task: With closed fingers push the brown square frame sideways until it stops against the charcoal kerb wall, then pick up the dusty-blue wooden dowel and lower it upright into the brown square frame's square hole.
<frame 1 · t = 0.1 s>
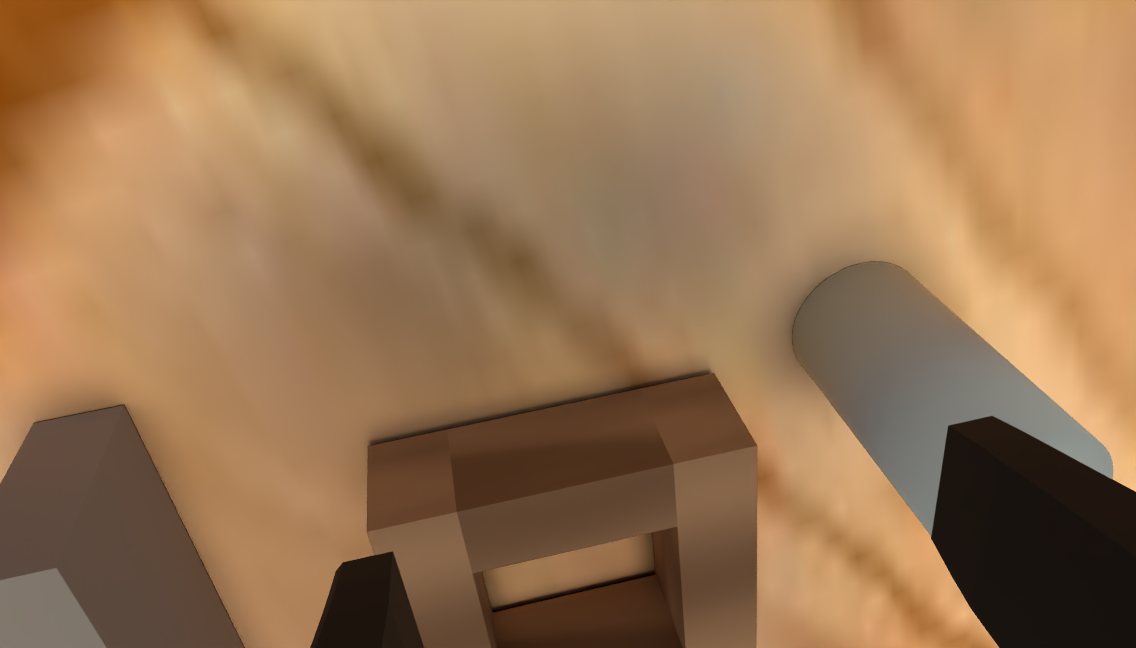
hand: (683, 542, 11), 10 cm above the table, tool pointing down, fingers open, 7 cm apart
dowel: (857, 323, 23), on the table
wall: (186, 615, 23), on the table
brown square frame: (575, 574, 23), point 2 cm above the table, slide at 0.0 cm
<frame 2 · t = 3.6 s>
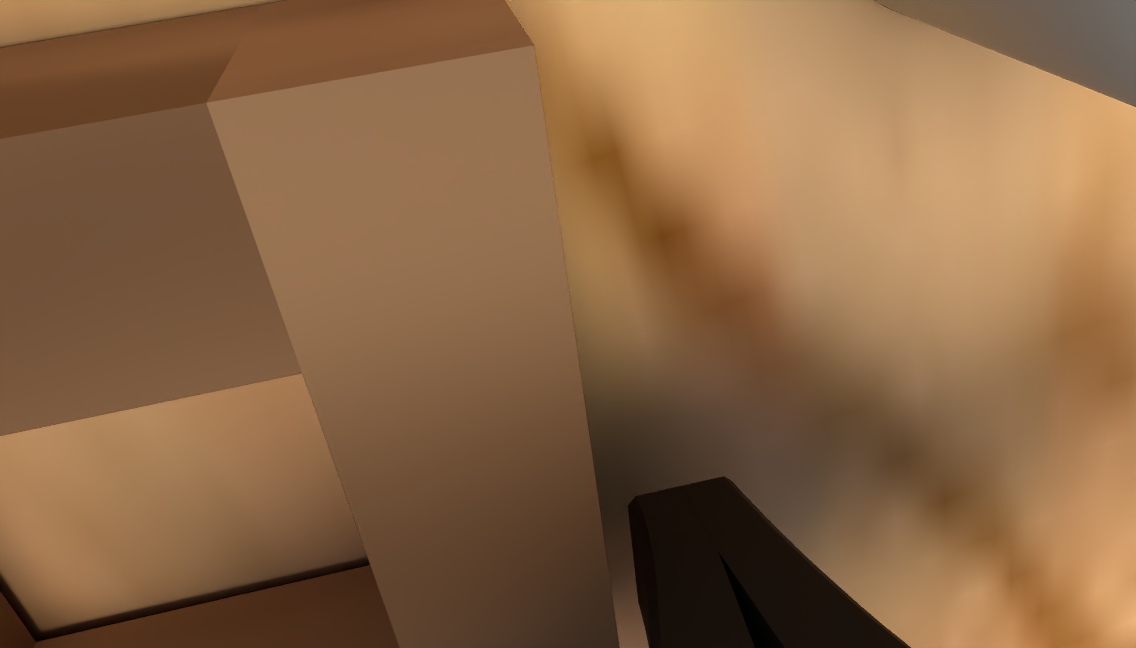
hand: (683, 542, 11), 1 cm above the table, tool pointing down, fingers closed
brown square frame: (132, 544, 9), point 2 cm above the table, slide at 1.0 cm, touching gripper
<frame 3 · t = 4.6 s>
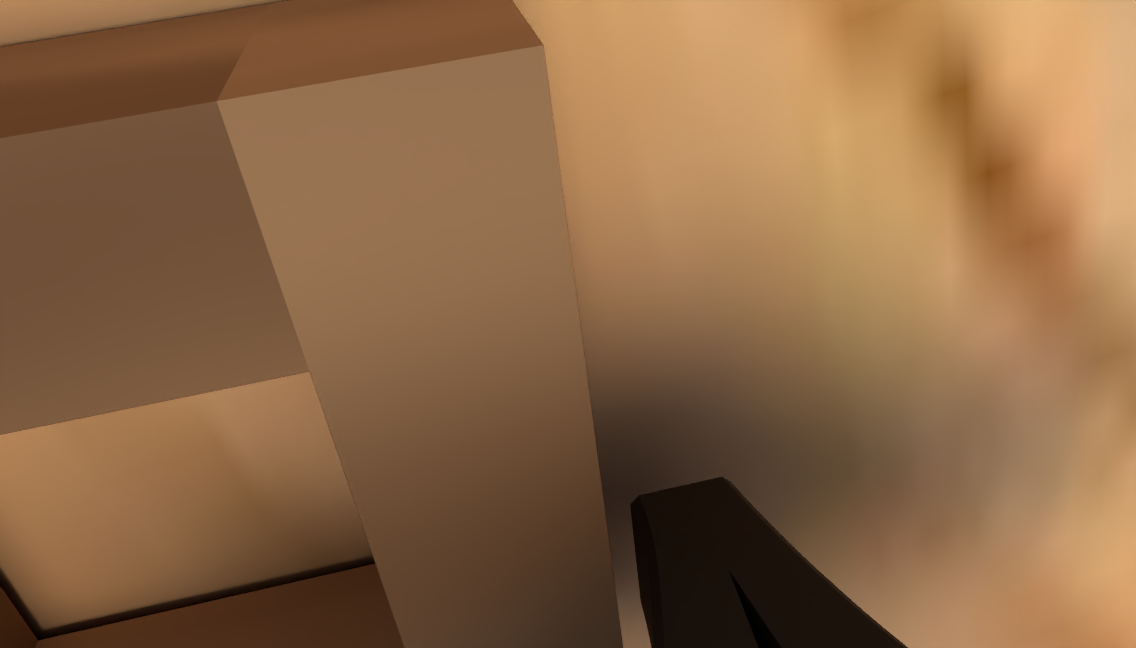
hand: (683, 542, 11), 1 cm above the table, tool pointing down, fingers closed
brown square frame: (136, 542, 9), point 2 cm above the table, slide at 5.0 cm, touching gripper, wall
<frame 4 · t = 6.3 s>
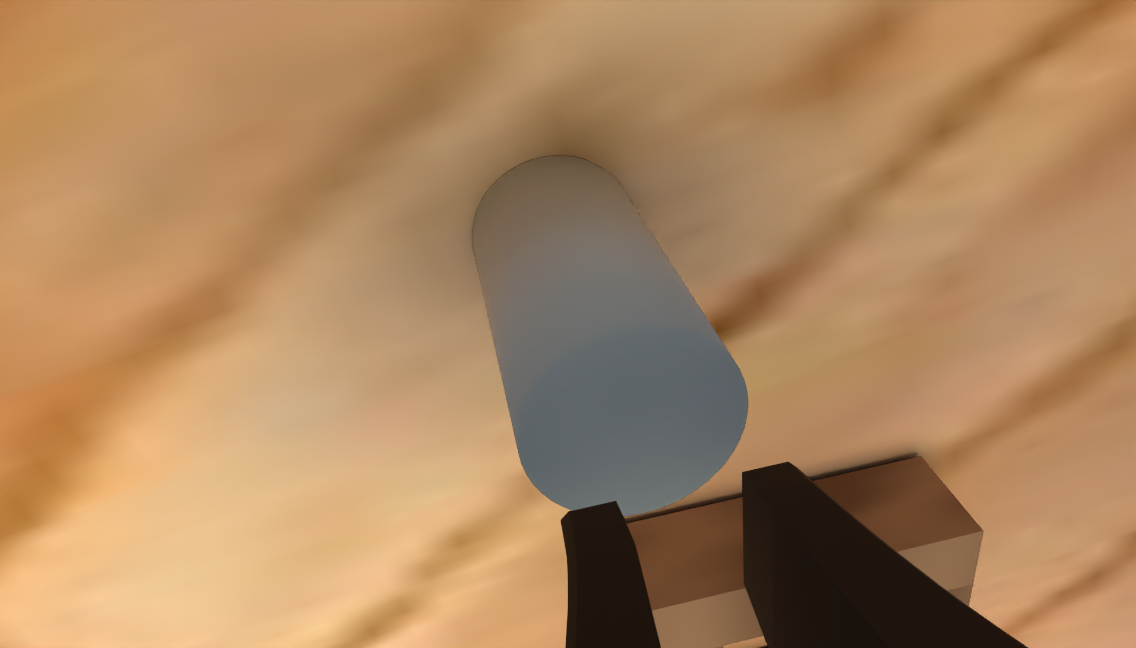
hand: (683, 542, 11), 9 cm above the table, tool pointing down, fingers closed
dowel: (553, 233, 19), on the table
brown square frame: (788, 638, 25), point 2 cm above the table, slide at 5.0 cm, touching wall
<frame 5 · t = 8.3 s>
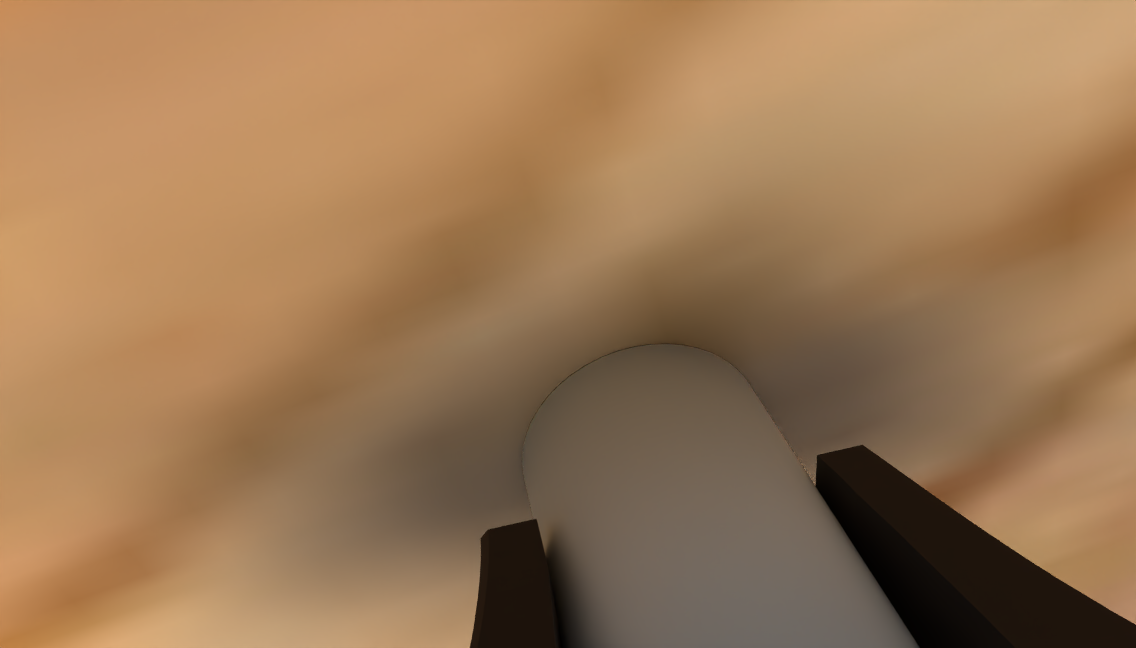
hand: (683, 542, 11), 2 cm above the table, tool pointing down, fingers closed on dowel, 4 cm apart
dowel: (643, 448, 13), on the table, touching gripper
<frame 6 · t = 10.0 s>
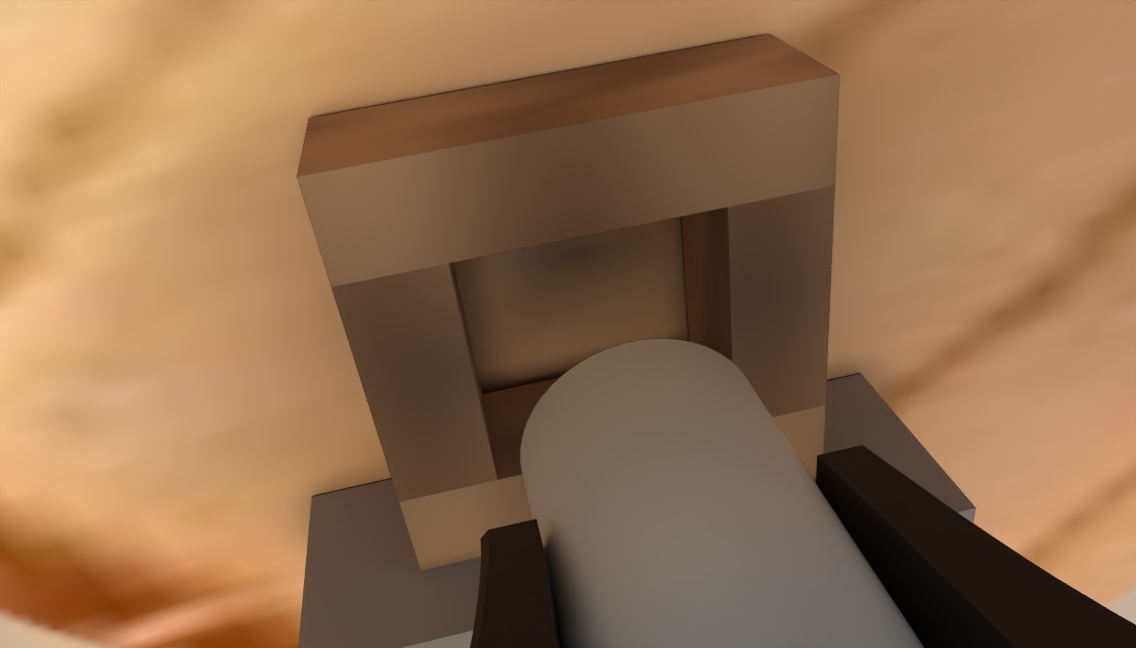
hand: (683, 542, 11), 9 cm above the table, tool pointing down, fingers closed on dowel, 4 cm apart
dowel: (641, 444, 13), point 7 cm above the table, touching gripper
wall: (599, 463, 22), on the table
brown square frame: (588, 313, 18), point 2 cm above the table, slide at 5.0 cm, touching wall
when the fingers open (4 cm above the table, at t = 11.7 s): dowel drops 2 cm, resting in brown square frame.
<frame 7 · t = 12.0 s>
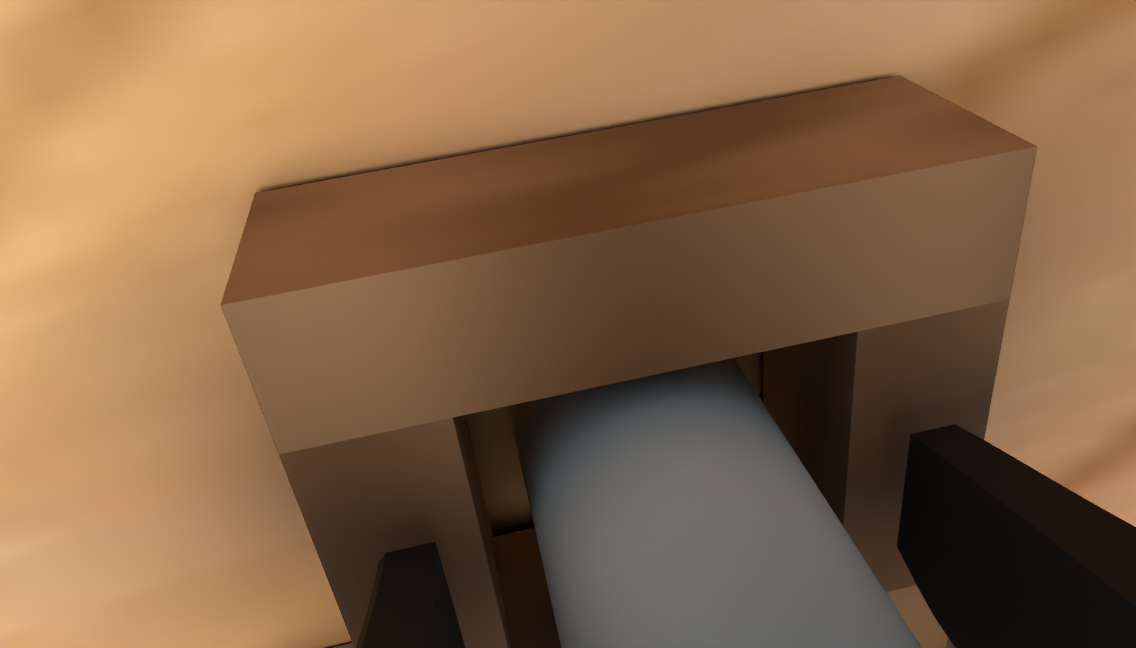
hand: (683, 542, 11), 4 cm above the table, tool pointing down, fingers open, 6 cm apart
dowel: (614, 377, 14), resting in brown square frame
brown square frame: (642, 453, 13), point 2 cm above the table, slide at 5.0 cm, touching wall
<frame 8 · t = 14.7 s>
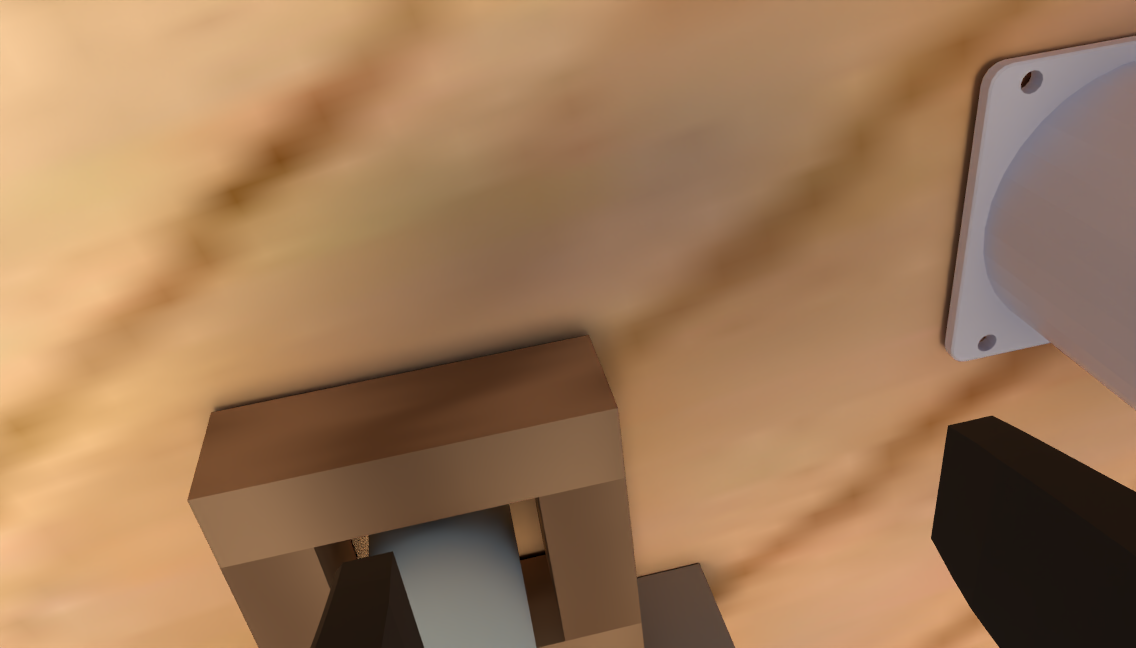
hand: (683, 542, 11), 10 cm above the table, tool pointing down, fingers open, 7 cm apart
dowel: (438, 499, 23), resting in brown square frame
wall: (476, 639, 26), on the table
brown square frame: (445, 551, 22), point 2 cm above the table, slide at 5.0 cm, touching wall
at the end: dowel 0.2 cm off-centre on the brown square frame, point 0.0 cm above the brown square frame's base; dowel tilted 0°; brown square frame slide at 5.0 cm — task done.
